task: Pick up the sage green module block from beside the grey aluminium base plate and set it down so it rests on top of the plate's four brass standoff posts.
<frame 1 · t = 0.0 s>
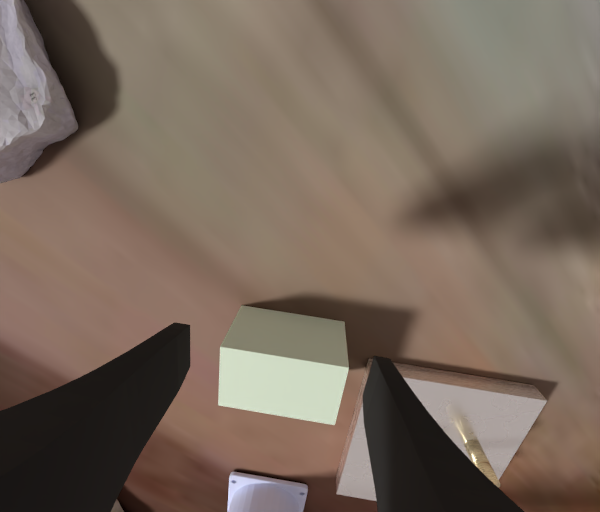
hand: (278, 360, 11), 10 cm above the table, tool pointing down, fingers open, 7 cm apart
base plate: (423, 436, 26), on the table
module block: (289, 338, 24), on the table
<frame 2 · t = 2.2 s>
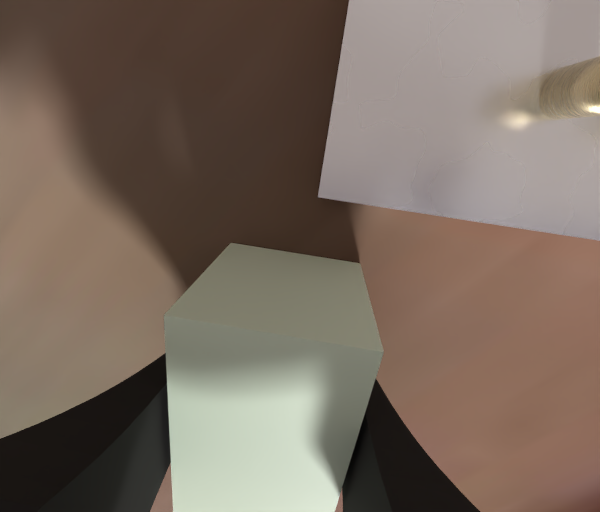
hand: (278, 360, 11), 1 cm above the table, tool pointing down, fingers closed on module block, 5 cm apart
module block: (283, 337, 13), on the table, touching gripper
when the fingers open (7 cm above the table, at t = 5.7 s): module block stays where it is, resting on base plate.
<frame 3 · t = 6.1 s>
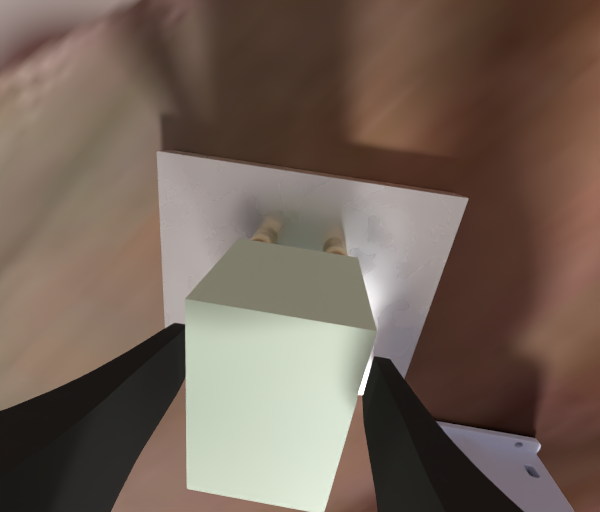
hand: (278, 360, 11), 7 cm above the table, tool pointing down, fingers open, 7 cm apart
base plate: (295, 281, 18), on the table
module block: (286, 327, 14), point 4 cm above the table, touching base plate
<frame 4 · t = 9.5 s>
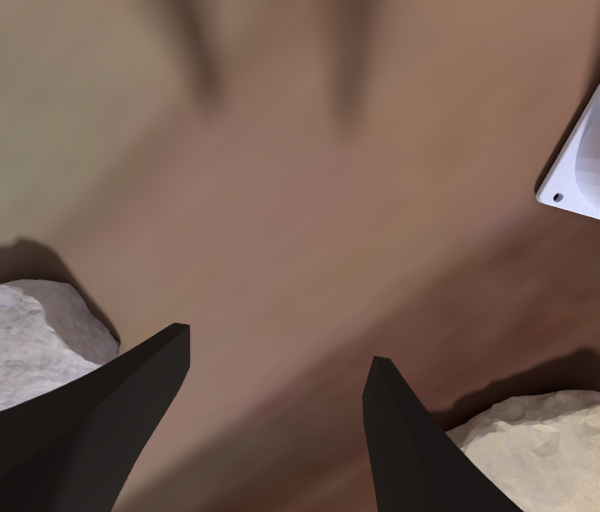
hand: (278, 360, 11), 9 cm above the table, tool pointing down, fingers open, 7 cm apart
stone block: (44, 323, 25), on the table
cream rock: (501, 490, 28), on the table
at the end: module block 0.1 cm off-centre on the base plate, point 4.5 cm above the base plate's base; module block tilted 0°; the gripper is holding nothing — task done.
